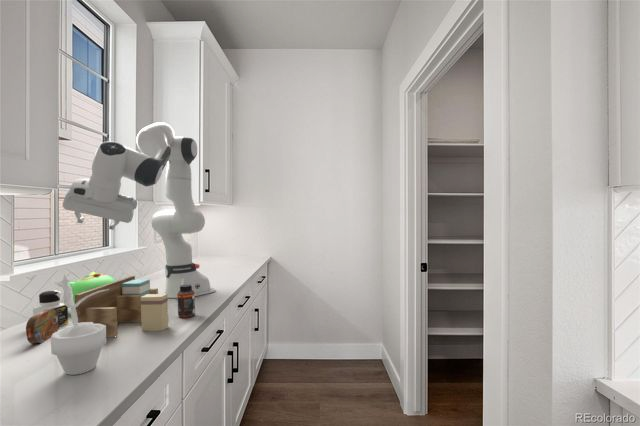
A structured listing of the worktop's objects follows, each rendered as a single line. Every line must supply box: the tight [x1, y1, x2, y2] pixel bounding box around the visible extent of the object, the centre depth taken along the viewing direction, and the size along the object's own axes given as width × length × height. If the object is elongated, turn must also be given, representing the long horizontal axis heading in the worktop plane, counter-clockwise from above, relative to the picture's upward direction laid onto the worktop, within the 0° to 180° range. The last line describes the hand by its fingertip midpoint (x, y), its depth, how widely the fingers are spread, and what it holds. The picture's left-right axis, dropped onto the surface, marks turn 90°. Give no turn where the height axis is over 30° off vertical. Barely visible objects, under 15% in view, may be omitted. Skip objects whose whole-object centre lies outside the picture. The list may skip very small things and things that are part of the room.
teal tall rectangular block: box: [122, 278, 151, 296], centre depth 135 cm, size 6×7×13 cm
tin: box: [25, 308, 60, 344], centre depth 114 cm, size 15×3×8 cm, turn 12°
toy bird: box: [58, 271, 117, 305], centre depth 147 cm, size 18×17×15 cm
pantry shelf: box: [75, 275, 159, 338], centre depth 126 cm, size 10×30×14 cm, turn 177°
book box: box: [140, 293, 169, 332], centre depth 121 cm, size 7×4×11 cm, turn 87°
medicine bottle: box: [32, 289, 69, 327], centre depth 127 cm, size 7×7×12 cm
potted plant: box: [50, 273, 109, 376], centre depth 91 cm, size 13×12×25 cm
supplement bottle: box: [176, 284, 196, 319], centre depth 134 cm, size 6×6×11 cm
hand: (96, 225), depth 123 cm, fingers open, 8 cm apart
